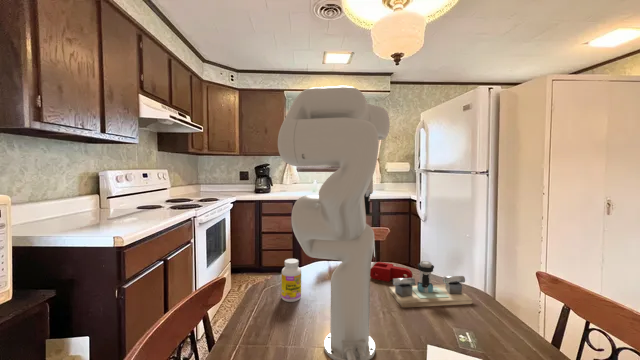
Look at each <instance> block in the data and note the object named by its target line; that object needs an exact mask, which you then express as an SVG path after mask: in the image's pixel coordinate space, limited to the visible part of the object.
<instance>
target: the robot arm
mask: <svg viewBox="0 0 640 360" xmlns="http://www.w3.org/2000/svg"><path fill="white" fill-rule="evenodd" d="M284 117H285V118H284V120H283V121H282V124H281V126H280V129H279V131H278V134H277V135H278V137H277V148H278V149H277V150H278V153H279V155H280V158H281V160H282V161H283V162H284V163H286V164H288V165H289V166H293V167H318V168H319V167H322V168H323V167H324V168H325V167H331V168H333V167H337V170H335V171H334V172H333V173H331V174H330V175H329V177H327V178H326V180H325V181H323V183H322V185H321V186H320V187H319V188H320V189H319V190H318V195H315V194H313V195H312V194H311V195H304V196H303V195H302V196H301V197H299V198H297V200H296V201H295V202H294V205H292V206H293V207H292V210H291V228H292V231H293V233H294V236H295V239H296V240H297V242H298V243H299V245H300V248H302V250H303V252H304V253H305V255H306V256H307V257H309V258H313V259H314V258H315V259H324V260H334V261H340V264H338V266H337V267H336V268H335V269H334V271H333V272H332V274H331V279H330V326H329V327H330V332H329V334H327V336H326V337H325V338H324V342H323V348H324V349H323V350H324V352H325V354H326V355H327V356H328V357H329V358H330V359H331V360H372V359H373V357H374V356H375V354H376V343H375V341H374V340H373V337H371V336H370V312H371V311H370V308H371V303H370V302H371V297H370V296H371V292H370V291H371V276H370V272H371V268H372V259H373V254H374V253H373V252H374V248H375V231H374V230H373V228H372V227H371V225H369V224H368V223H367V215H370V213H371V195H372V194H373V193H374V183H373V182H374V181H373V178H374V173H375V170H376V166H377V161H378V157H379V146H380V145H379V141H383V140H386V139H387V137H388V135H389V132H390V115H389V113H388V110H387V109H386V108H384V107H381V106H378V105H375V104H374V105H373V104H370V103H368V102H367V99H366V97H365V95H364V93H363V92H362V91H360V90H359V89H358V88H356V87H354V86H349V85H348V86H347V85H337V86H324V87H323V86H321V87H308V88H306V89H304V90H302V91H301V92H300V93H299V94H298V95H297V97H295V99H294V101H293V102H292V104H291V105H290V108H289V110H288V112H287V113H286V116H284ZM338 167H339V168H338Z"/></svg>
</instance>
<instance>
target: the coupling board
mask: <svg viewBox="0 0 640 360" xmlns="http://www.w3.org/2000/svg"><path fill="white" fill-rule="evenodd" d="M432 285H433V287H437V288H433V289H437V291H435V290H434V291H433V292H428V293H426V292H419V291H418V289H417V286H418V285H412V286H413V287H412V296H408V297H401V296H400V295H398V294H397V293H396V292H395V286H388V292H389V293H390V294H391V296H392V297H393V298H394V299H395V301H396V302H397V303H398V304H399V306H400V307H401V308H420V307H436V306H437V307H438V306H439V307H440V306H458V305H473V300H474V299H473V298H471V297H470V296H468V294H466V293H464V292H463V291H462V295H460V294H449V293H448V291H447V290H446V289H445V288H446V283H443V284H432Z"/></svg>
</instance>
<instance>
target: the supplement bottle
mask: <svg viewBox="0 0 640 360" xmlns="http://www.w3.org/2000/svg"><path fill="white" fill-rule="evenodd" d="M299 262H300V261H299V259H298V258H297V259H296V258H286V259H285V260H284V267H283V268H282V269H281V292H280V293H281V294H280V295H281V299H282V300H283V301H284V302H287V303H294V302H297V301H299V300H300V299H301V297H302V269H301V268H300V267H299Z"/></svg>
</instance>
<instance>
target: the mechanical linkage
mask: <svg viewBox="0 0 640 360" xmlns="http://www.w3.org/2000/svg"><path fill="white" fill-rule="evenodd" d="M396 278H413V272H412V271H411V270H410V269H409V268H407V267H403V266H402V267H401V266H395V265H394V263H388V262H382V261H378V262H376V263H374V265H373V266H371V272H370V279H373V280H378V281H383V282H389V283H390V281H393V279H396Z"/></svg>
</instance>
